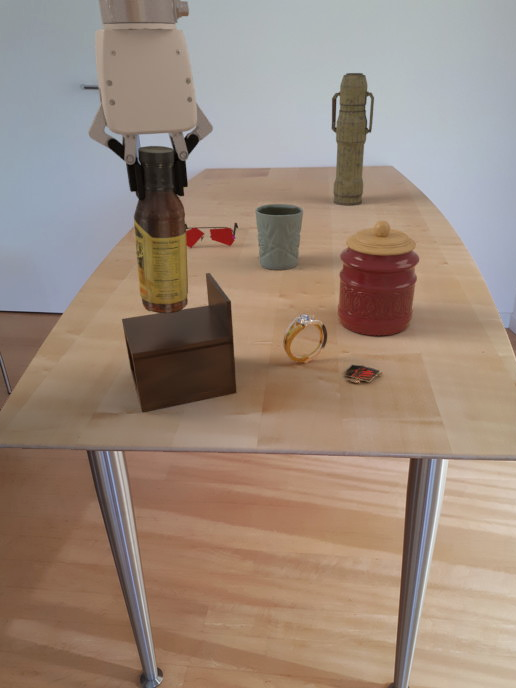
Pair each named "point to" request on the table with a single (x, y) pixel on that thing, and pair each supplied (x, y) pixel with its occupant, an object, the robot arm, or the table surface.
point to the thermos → (351, 137)
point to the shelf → (183, 352)
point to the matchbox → (361, 373)
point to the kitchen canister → (377, 281)
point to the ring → (303, 321)
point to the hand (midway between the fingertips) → (159, 194)
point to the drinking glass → (279, 235)
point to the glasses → (217, 235)
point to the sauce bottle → (160, 235)
